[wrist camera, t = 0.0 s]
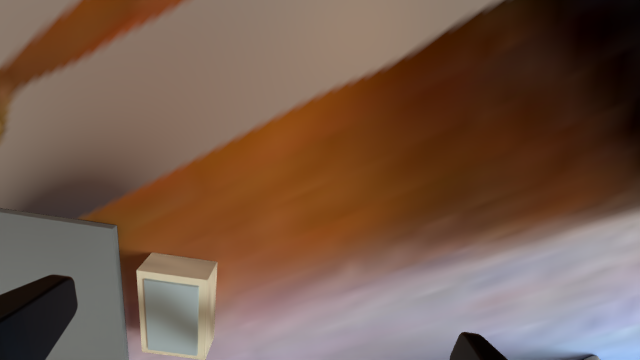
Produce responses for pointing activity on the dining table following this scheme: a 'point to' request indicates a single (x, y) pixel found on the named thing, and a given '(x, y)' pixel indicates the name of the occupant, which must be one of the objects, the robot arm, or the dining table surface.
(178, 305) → the framed mirror
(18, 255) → the grey rectangular board
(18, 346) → the robot arm
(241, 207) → the dining table surface
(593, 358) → the coffee box
